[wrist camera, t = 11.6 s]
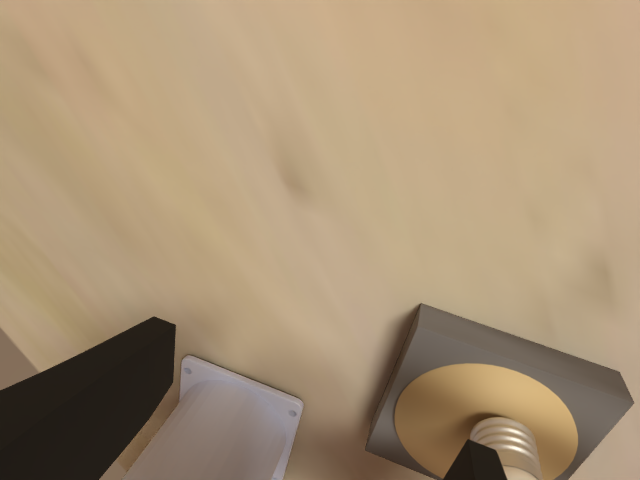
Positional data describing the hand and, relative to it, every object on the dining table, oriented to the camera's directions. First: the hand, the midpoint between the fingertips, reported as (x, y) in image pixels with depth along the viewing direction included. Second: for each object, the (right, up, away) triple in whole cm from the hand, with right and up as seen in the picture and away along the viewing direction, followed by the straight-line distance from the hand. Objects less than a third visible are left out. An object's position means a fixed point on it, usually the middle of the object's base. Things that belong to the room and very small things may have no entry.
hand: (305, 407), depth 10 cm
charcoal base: (+8, -4, +11) cm, 15 cm away
